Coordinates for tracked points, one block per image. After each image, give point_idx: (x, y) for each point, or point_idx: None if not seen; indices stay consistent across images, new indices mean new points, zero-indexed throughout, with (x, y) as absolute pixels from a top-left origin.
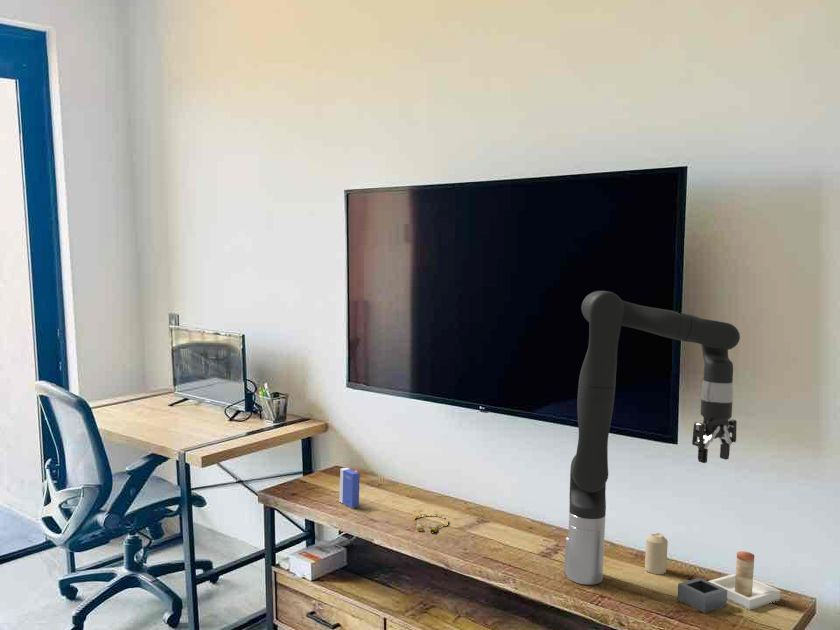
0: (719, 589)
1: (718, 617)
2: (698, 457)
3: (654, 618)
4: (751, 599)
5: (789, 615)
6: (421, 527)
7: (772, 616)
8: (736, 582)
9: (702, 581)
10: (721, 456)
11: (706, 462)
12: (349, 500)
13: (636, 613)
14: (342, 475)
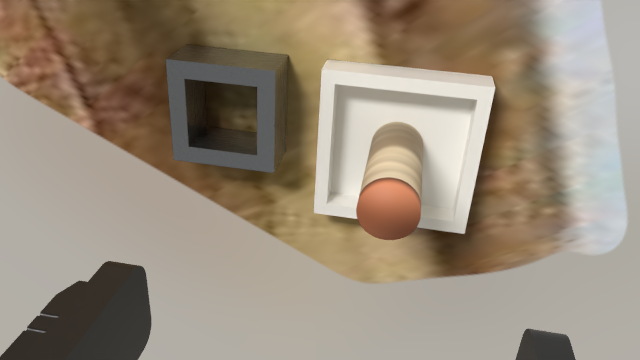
0: (253, 158)
1: (207, 171)
2: (52, 308)
3: (42, 81)
4: (323, 213)
5: (388, 266)
6: None
7: (342, 245)
8: (370, 149)
9: (257, 93)
10: (525, 356)
11: (146, 335)
12: None
13: (12, 35)
14: None
